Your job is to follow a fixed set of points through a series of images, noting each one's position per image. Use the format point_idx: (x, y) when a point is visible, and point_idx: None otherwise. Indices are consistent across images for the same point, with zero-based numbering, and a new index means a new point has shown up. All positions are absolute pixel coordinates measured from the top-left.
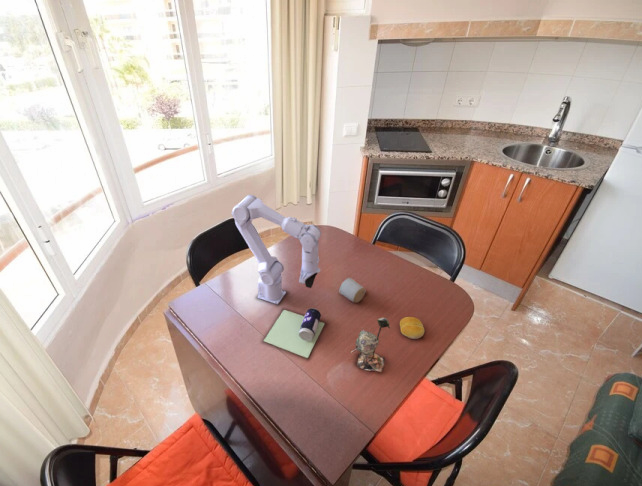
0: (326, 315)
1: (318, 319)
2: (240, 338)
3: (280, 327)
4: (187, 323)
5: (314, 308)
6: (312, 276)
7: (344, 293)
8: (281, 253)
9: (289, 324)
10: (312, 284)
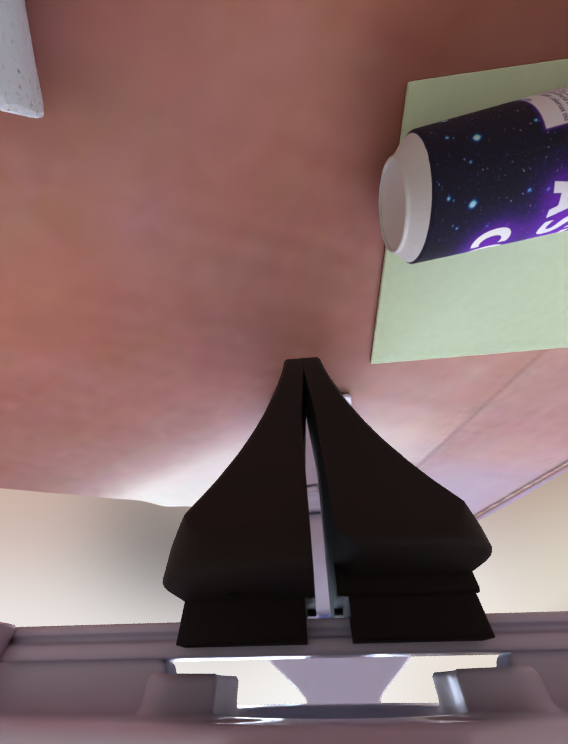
0: (316, 118)
1: (511, 111)
2: (549, 407)
3: (487, 326)
4: (490, 502)
5: (407, 216)
6: (429, 562)
7: (4, 8)
8: (107, 484)
9: (461, 301)
10: (302, 376)
